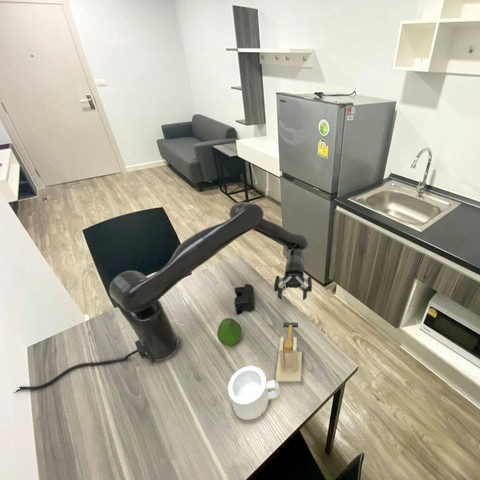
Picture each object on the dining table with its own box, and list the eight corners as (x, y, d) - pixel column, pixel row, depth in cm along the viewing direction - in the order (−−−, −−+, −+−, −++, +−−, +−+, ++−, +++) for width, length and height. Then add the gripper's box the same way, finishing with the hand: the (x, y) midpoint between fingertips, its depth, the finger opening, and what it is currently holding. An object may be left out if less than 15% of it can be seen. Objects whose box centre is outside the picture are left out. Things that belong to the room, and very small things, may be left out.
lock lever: (283, 326, 91) (283, 320, 90) (298, 326, 91) (298, 320, 90) (279, 353, 79) (279, 346, 79) (296, 353, 80) (296, 347, 79)
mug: (278, 378, 84) (276, 360, 78) (281, 413, 76) (280, 396, 70) (234, 387, 81) (228, 369, 75) (233, 425, 73) (226, 408, 67)
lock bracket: (278, 353, 91) (276, 328, 83) (302, 353, 92) (302, 329, 84) (275, 382, 83) (272, 359, 75) (300, 382, 84) (300, 359, 75)
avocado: (226, 355, 90) (220, 334, 83) (216, 339, 94) (209, 318, 87) (247, 342, 94) (243, 321, 87) (237, 327, 99) (232, 306, 92)
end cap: (255, 312, 105) (253, 300, 101) (236, 315, 103) (234, 303, 99) (254, 293, 113) (252, 282, 109) (236, 296, 111) (234, 285, 107)
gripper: (277, 261, 107) (271, 290, 93) (312, 261, 107) (312, 291, 94) (277, 274, 111) (273, 304, 98) (311, 275, 112) (311, 305, 98)
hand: (292, 298), depth 96 cm, fingers open, 8 cm apart
